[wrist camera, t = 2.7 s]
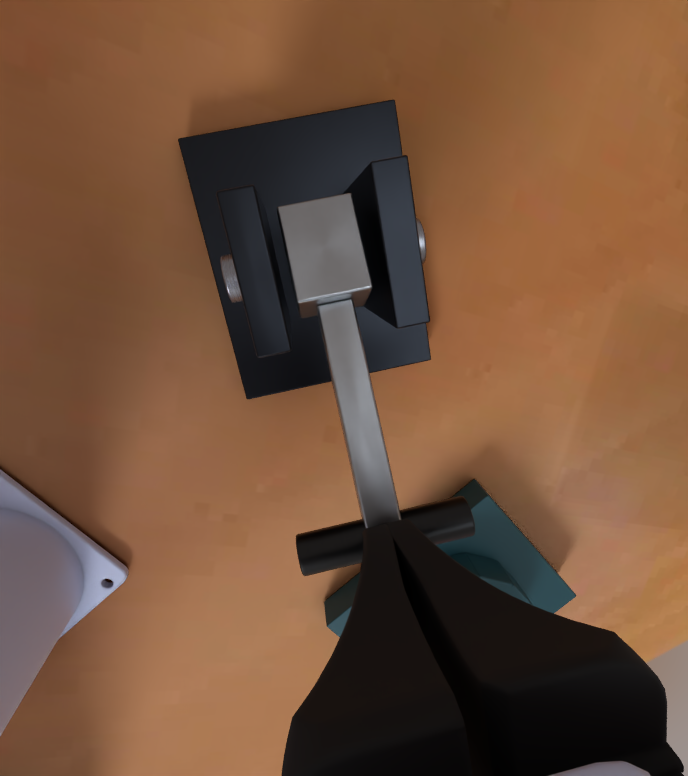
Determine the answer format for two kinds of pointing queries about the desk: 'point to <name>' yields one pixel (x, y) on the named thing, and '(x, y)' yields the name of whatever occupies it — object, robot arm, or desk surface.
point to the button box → (484, 562)
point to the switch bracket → (266, 248)
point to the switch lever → (351, 380)
